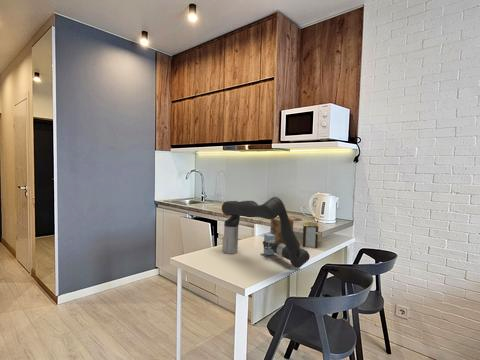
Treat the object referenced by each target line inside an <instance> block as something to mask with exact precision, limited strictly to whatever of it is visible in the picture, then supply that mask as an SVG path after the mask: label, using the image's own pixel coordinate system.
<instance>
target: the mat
mask: <svg viewBox="0 0 480 360" xmlns="http://www.w3.org/2000/svg"><path fill="white" fill-rule="evenodd" d="M260 255H261V256H262V257H264V258H265V259H272V258H278V256H279V255H278V254H276V253H275V254H272V255H267V254H265V253H264V252H262V253H260Z"/></svg>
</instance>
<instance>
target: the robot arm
mask: <svg viewBox="0 0 480 360" xmlns="http://www.w3.org/2000/svg"><path fill="white" fill-rule="evenodd" d="M221 212H222V213H223V215H225V216H229V218H228V219H226V220H225V221H224V227H223V236H222V244H221V246H222V249H221V251H222V252H223V253H224V254H227V255H228V254H231V255H232V254H237V253H238V252H239V251H238V249H239V248H238V247H239V223H240V220H241V219H240V218H241V216H242V217H250V218H251V217H253V218H261V219H266V220H271V219H274V218H275V217H279V218H280V222H281V236H282V239H283V242H284V243H282V242H279V241H277V242H276V241H275V243H270V242H269V243H267V242H265V241H264V240H263V241H262V245H263V249H264V248H265V249H266V250H267V249H268V248H270V249H272V250H273V251H274V253H275V255H277V256H280V257H282V258H283V259H284V258H285V260H287V261H288V260H289V261H290V264H291V265H292V266H293V267H294V268H295V269H299V268H301V267H303V265H305V264H306V263H307V262H308V261H309V260H310V257H311V255H310V254H309V251H307V250H306V249H305V248H302V247H301V248H299V247H300V244H301V243H300V242H299V240H298V238H297V235H295V233H294V229H293V230H292V227H291V224H290V221H289V218H288V216H289V215H288V212H287V210H286V206H285V204H284V202H283V201H282V199H281V198H279V197H277V196H273V197H270V199H268V200H266V201H265V202H264V203H262V204H260V205H259V203H257V202H256V201H254V200H242V201H238V200H227V201H224V202H223V203H222V204H221ZM267 244H268V245H267Z"/></svg>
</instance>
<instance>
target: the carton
mask: <svg viewBox="0 0 480 360" xmlns="http://www.w3.org/2000/svg"><path fill="white" fill-rule="evenodd" d="M263 235H264V236H263V237H264V238H263V241H265V242H267V243H269V242H270V243H275V235H273V234H270V233H264V234H263ZM267 245H268V244H267ZM263 253H265V254H267V255H272V254H275V255H276V253H274V251H273V250H272V249H270V248H268V249H267V250H266V249H265V248H264V247H263Z"/></svg>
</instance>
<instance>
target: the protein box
mask: <svg viewBox="0 0 480 360" xmlns="http://www.w3.org/2000/svg"><path fill="white" fill-rule="evenodd" d="M302 226H303V227H302V247H303V248H309V247H311V249H318V243H319V234H318V235H317V234H315V232H318V233H319V224H318V222H315V221H314V222H311V221H303V225H302Z"/></svg>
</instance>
